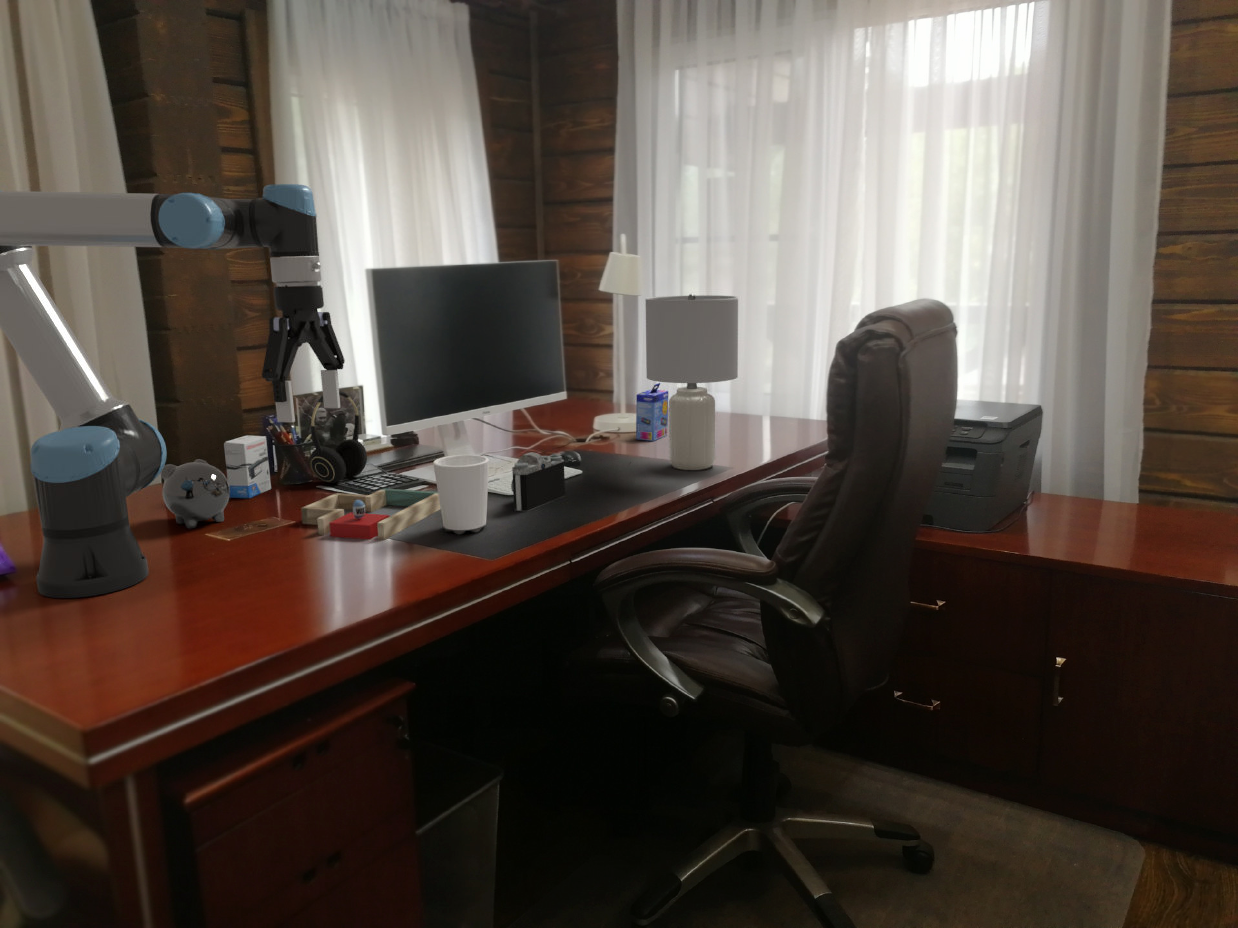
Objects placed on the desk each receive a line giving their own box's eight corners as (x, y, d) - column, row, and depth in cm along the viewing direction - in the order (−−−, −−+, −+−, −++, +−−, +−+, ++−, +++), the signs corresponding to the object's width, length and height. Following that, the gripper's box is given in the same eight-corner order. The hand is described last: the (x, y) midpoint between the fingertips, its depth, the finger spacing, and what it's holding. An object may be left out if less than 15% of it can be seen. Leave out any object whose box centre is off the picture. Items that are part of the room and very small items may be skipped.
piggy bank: (210, 509, 188) (203, 452, 185) (246, 522, 178) (240, 463, 175) (152, 521, 180) (144, 463, 177) (187, 536, 170) (179, 474, 167)
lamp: (753, 470, 211) (755, 294, 202) (670, 480, 204) (668, 297, 195) (711, 453, 229) (711, 291, 221) (634, 462, 222) (631, 294, 213)
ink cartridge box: (654, 441, 245) (654, 386, 242) (635, 440, 247) (634, 385, 244) (669, 435, 254) (669, 381, 251) (650, 433, 256) (649, 380, 253)
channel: (384, 539, 165) (383, 523, 165) (284, 531, 172) (282, 515, 171) (444, 507, 186) (443, 492, 185) (353, 500, 192) (352, 486, 191)
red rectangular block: (390, 529, 172) (387, 496, 171) (370, 540, 166) (368, 506, 165) (351, 527, 175) (348, 494, 173) (330, 537, 168) (327, 503, 167)
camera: (542, 491, 197) (540, 444, 195) (569, 495, 193) (567, 447, 191) (497, 508, 184) (495, 458, 182) (525, 512, 181) (523, 461, 179)
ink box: (249, 499, 195) (243, 443, 193) (228, 498, 196) (221, 442, 194) (272, 489, 203) (267, 435, 201) (251, 488, 204) (245, 434, 202)
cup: (433, 525, 174) (428, 457, 171) (485, 518, 177) (482, 452, 174) (442, 539, 165) (438, 468, 162) (498, 533, 168) (494, 463, 165)
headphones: (302, 486, 206) (293, 394, 201) (348, 471, 219) (340, 385, 214) (332, 489, 202) (324, 396, 198) (377, 474, 215) (370, 387, 211)
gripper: (271, 287, 140) (286, 428, 144) (358, 281, 163) (368, 403, 168) (227, 288, 141) (243, 427, 146) (319, 282, 165) (330, 402, 170)
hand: (310, 414), depth 157 cm, fingers open, 13 cm apart
